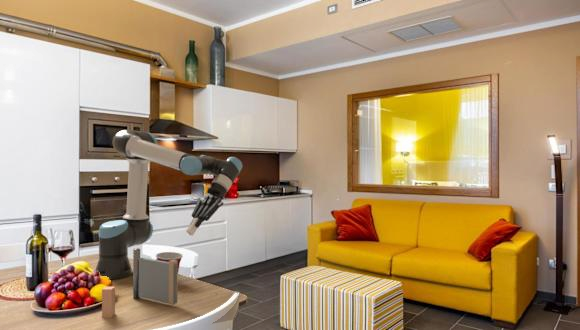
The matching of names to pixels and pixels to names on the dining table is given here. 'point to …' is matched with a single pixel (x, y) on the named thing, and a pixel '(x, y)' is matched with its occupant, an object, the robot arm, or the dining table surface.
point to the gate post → (136, 273)
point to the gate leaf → (158, 280)
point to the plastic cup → (170, 257)
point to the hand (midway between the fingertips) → (189, 233)
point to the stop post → (108, 301)
